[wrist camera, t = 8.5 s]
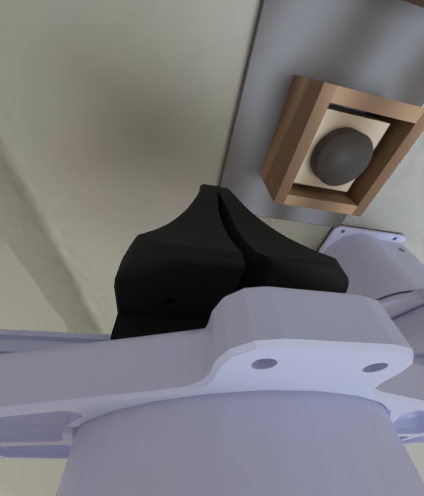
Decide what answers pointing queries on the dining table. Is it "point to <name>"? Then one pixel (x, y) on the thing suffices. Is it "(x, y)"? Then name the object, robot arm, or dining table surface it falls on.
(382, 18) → the stand
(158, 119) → the dining table surface
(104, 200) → the dining table surface
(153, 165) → the dining table surface
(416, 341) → the robot arm
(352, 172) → the plunger
